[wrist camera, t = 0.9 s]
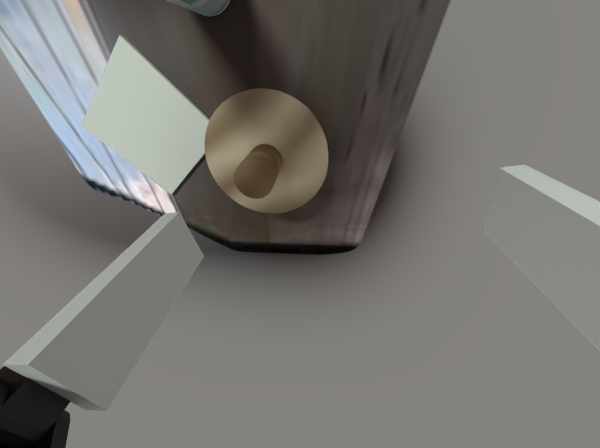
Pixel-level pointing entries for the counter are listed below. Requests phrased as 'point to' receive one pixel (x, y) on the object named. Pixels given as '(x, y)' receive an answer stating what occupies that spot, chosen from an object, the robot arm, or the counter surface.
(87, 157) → the counter surface
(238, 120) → the lid
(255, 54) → the counter surface
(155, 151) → the mat
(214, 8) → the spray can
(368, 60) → the counter surface
